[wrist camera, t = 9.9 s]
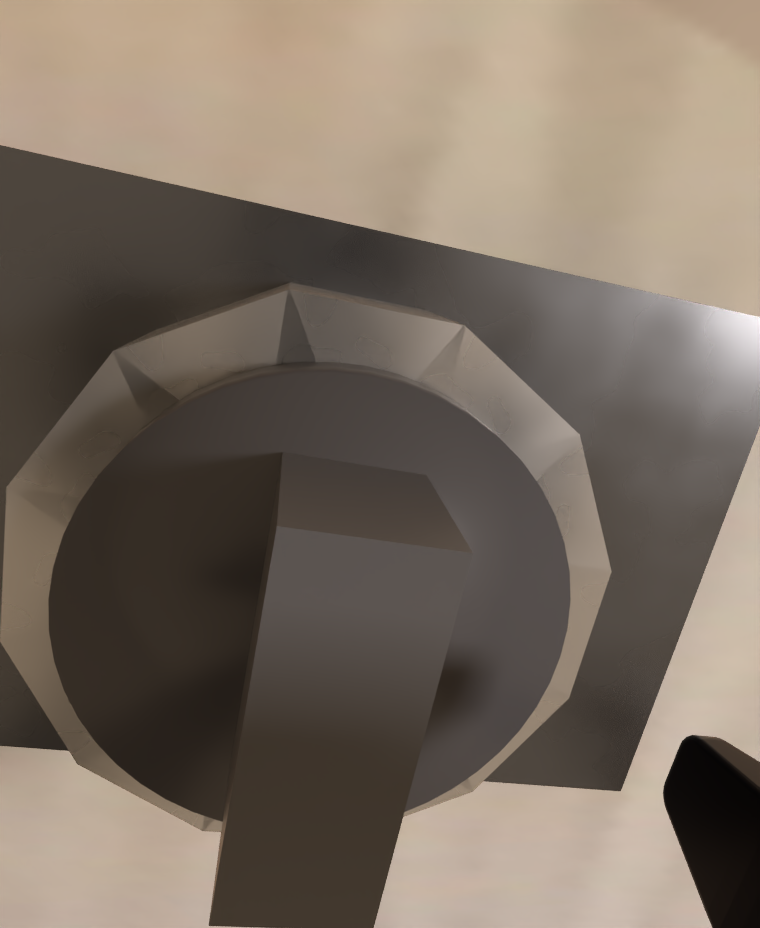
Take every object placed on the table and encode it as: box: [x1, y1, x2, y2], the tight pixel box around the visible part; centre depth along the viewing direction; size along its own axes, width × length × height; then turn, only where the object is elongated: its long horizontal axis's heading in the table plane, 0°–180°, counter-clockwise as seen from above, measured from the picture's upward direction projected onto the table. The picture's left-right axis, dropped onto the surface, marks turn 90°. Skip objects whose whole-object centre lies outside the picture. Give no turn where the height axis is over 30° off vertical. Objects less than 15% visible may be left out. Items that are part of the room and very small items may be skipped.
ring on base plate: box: [0, 145, 760, 832], centre depth 13 cm, size 18×12×5 cm, turn 78°
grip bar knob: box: [48, 362, 571, 928], centre depth 10 cm, size 8×8×6 cm
